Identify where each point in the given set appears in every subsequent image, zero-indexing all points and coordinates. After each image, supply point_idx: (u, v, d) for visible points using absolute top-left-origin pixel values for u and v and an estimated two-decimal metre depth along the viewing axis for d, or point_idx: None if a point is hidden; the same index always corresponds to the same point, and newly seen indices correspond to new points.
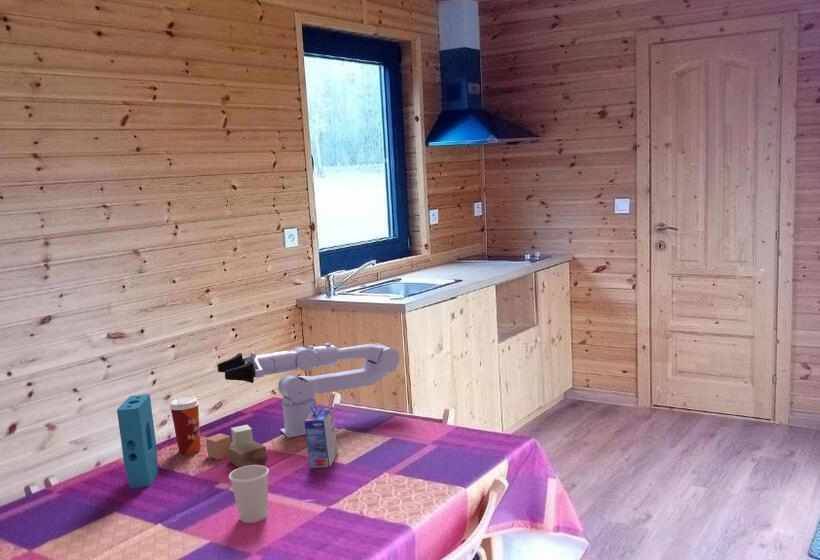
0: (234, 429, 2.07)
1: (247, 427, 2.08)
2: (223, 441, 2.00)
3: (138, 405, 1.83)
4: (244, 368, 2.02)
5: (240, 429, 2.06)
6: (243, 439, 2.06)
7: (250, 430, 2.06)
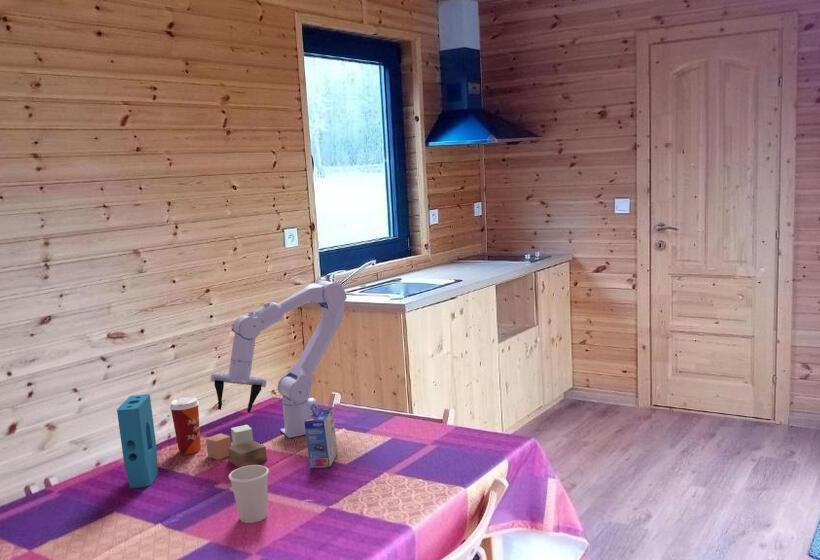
0: (234, 429, 2.07)
1: (247, 427, 2.08)
2: (223, 441, 2.00)
3: (138, 405, 1.83)
4: None
5: (240, 429, 2.06)
6: (243, 439, 2.06)
7: (250, 430, 2.06)
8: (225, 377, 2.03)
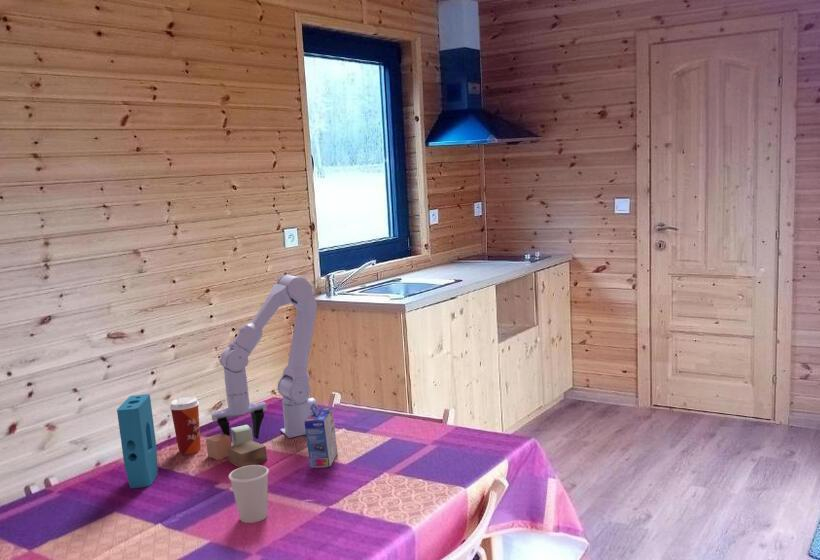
0: (234, 429, 2.07)
1: (247, 427, 2.08)
2: (223, 441, 2.00)
3: (138, 405, 1.83)
4: None
5: (240, 429, 2.06)
6: (243, 439, 2.06)
7: (250, 430, 2.06)
8: (227, 413, 2.03)
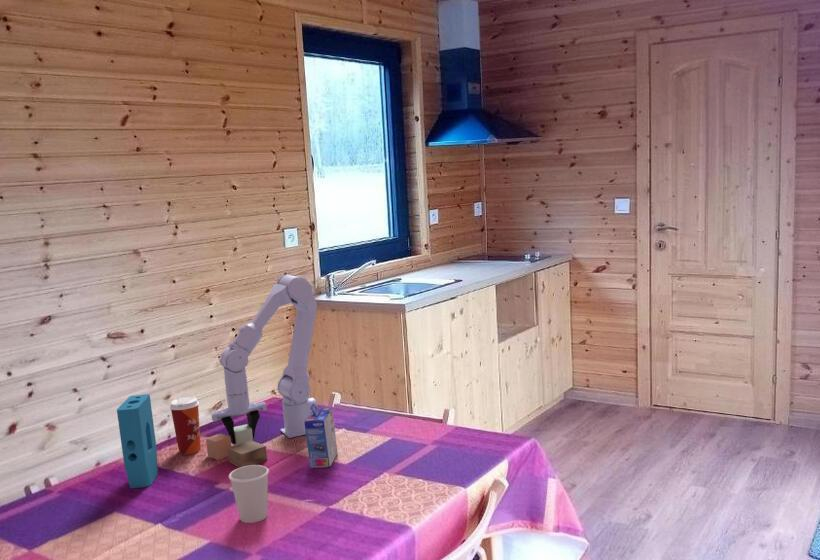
0: (234, 429, 2.07)
1: (247, 427, 2.08)
2: (223, 442, 2.00)
3: (138, 405, 1.83)
4: None
5: (240, 429, 2.06)
6: (243, 438, 2.06)
7: (250, 430, 2.06)
8: (227, 413, 2.03)
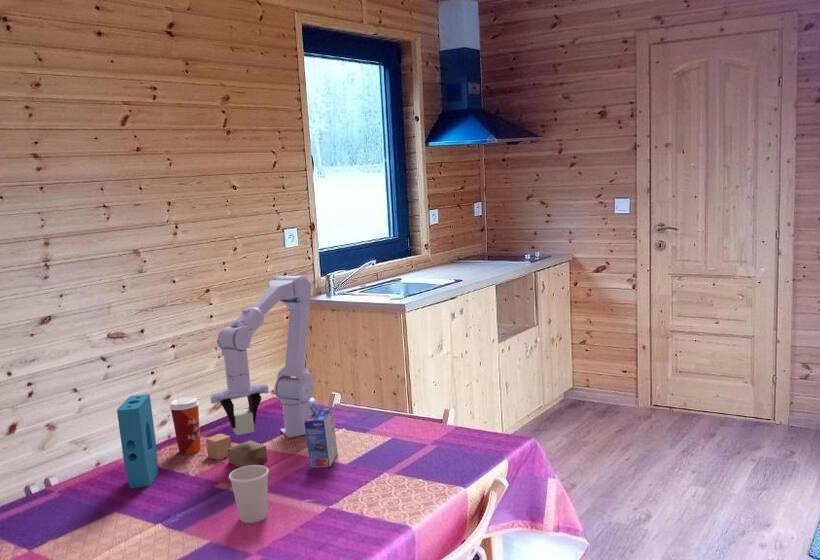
0: (234, 413, 1.97)
1: (248, 411, 1.97)
2: (223, 442, 2.00)
3: (138, 405, 1.83)
4: None
5: (240, 413, 1.96)
6: (243, 423, 1.95)
7: (251, 414, 1.96)
8: (227, 395, 1.93)
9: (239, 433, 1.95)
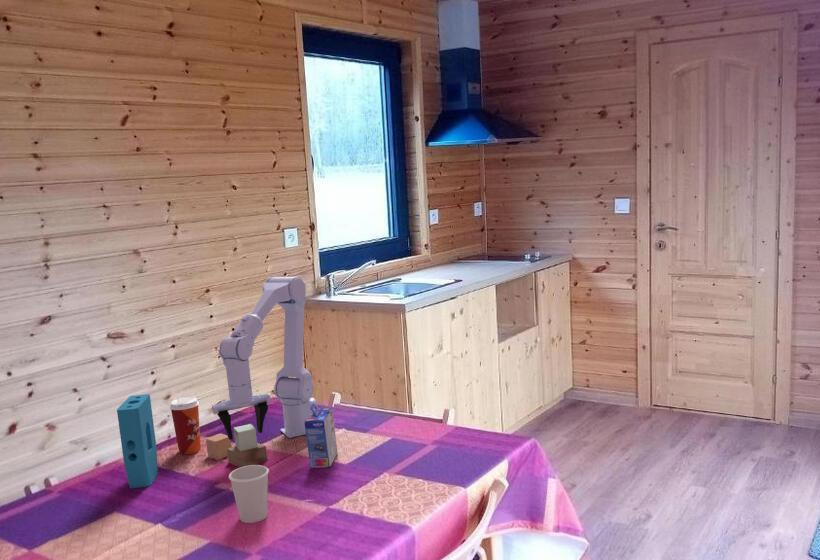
0: (237, 429, 1.95)
1: (251, 427, 1.96)
2: (223, 442, 2.00)
3: (138, 405, 1.83)
4: None
5: (243, 429, 1.95)
6: (246, 439, 1.94)
7: (254, 430, 1.95)
8: (229, 406, 1.91)
9: (242, 449, 1.94)
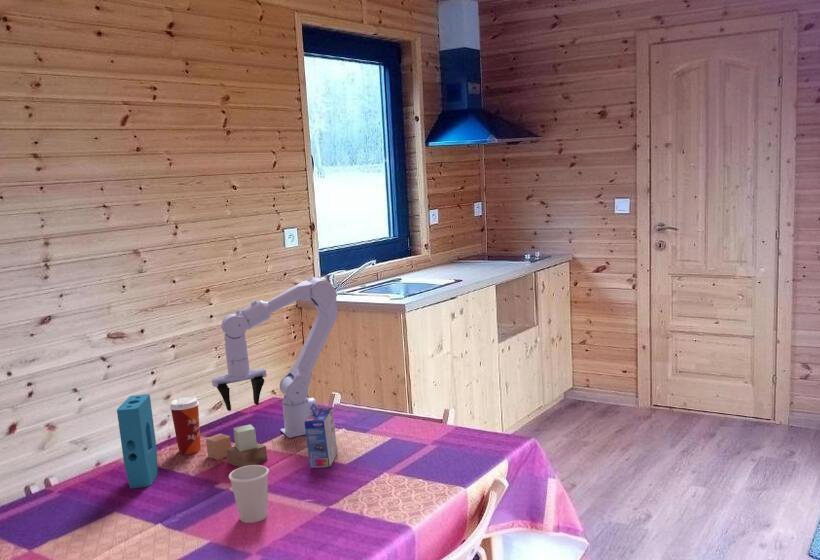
0: (236, 429, 1.95)
1: (250, 427, 1.96)
2: (223, 442, 2.00)
3: (138, 405, 1.83)
4: None
5: (243, 429, 1.94)
6: (246, 439, 1.94)
7: (253, 430, 1.94)
8: (228, 379, 2.05)
9: (242, 449, 1.93)
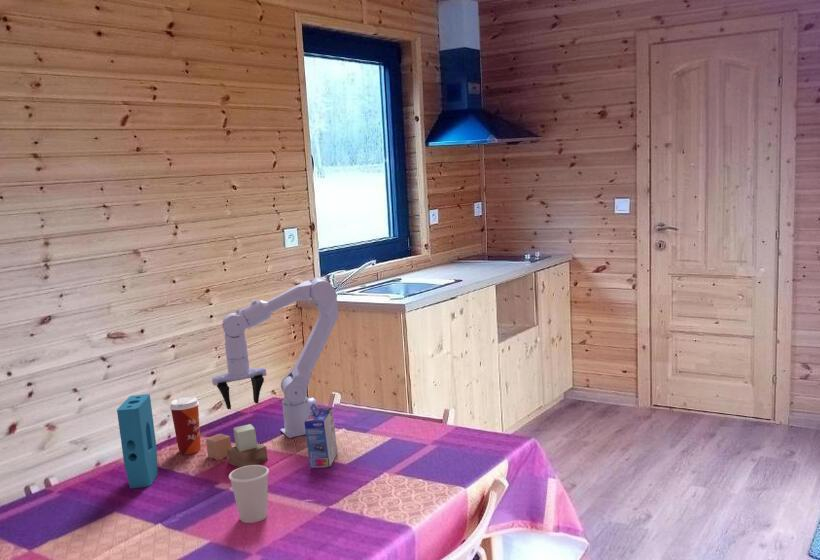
0: (236, 429, 1.95)
1: (250, 427, 1.96)
2: (223, 442, 2.00)
3: (138, 405, 1.83)
4: None
5: (243, 429, 1.94)
6: (246, 439, 1.94)
7: (253, 430, 1.94)
8: (227, 378, 2.07)
9: (242, 449, 1.94)
